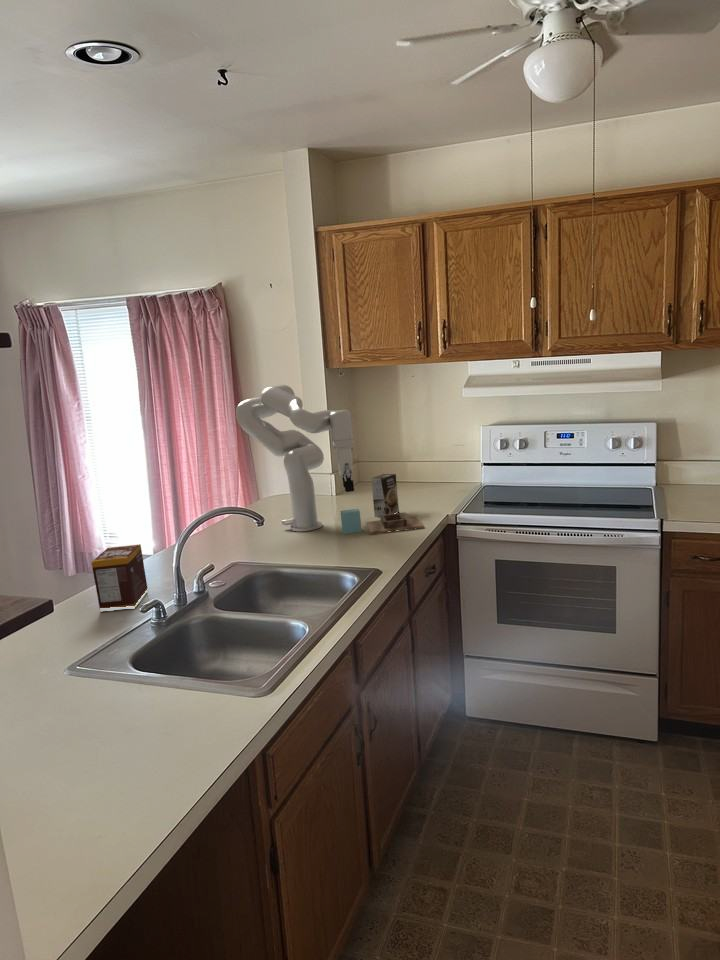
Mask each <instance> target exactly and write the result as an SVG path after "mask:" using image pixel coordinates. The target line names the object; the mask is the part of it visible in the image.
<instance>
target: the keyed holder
mask: <svg viewBox="0 0 720 960" xmlns="http://www.w3.org/2000/svg"><path fill="white" fill-rule="evenodd" d="M379 518H380V519H378V520H371V521H365V526H366V529H367V528H368V529H367V531H368V534H369V535H370V534H372V535H378V534H377V533H381V534H383V533H382V532H388V531H396V530H405V529H414V530H416V529H415V528H422V529H424V525H423V522H422V521H420V519H419V518H418V517H417V515H412V516H405V515H404V514H403V513H402V512H399V513H396V514H387V515H380V517H379Z"/></svg>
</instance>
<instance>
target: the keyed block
mask: <svg viewBox="0 0 720 960" xmlns="http://www.w3.org/2000/svg"><path fill="white" fill-rule="evenodd" d="M339 512H340V520H341V521H340V522H341V529H342V534H344V535H346V534H354V532H355V533H362V532H363V530H362V521H361V511H360V509H359V508H353V509H345V510H344V509H343V510H340V511H339ZM361 531H362V532H361Z"/></svg>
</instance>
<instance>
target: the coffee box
mask: <svg viewBox="0 0 720 960" xmlns="http://www.w3.org/2000/svg"><path fill="white" fill-rule="evenodd" d="M370 479H371V490H372V492H371V493H372V502H373V512H374V517H375V518H376V517H377V518H381V517H380V515H387V514H394V513H396V512H399V513H400V507H399V496H398V485H397V473H396V474H395V473H382V474H380V475H376V476H373V477H371V478H370Z"/></svg>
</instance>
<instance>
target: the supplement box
mask: <svg viewBox="0 0 720 960" xmlns="http://www.w3.org/2000/svg"><path fill="white" fill-rule="evenodd" d="M141 545H142V544H131V545H130V544H129V545H121V546H113V547H112V546H110V547H109V546H108V547H107V548H106V549H104V550H103V551H102V552H101V553H100V554H99V555H97V556H96V557H95V558H94V560H93V559H92V561H91V568H92V573H93V578H94V584H95V589H96V597H97V600H98V606H99V609H100V608H110V607H126V606H135V605H136V603H137V602H138V600H139V599H140V598H141V596H142V595H143V594H144V593H145V591H146V590H147V588H148V582H147V577H146V571H145V565H144V557H143V550H142V546H141Z"/></svg>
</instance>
